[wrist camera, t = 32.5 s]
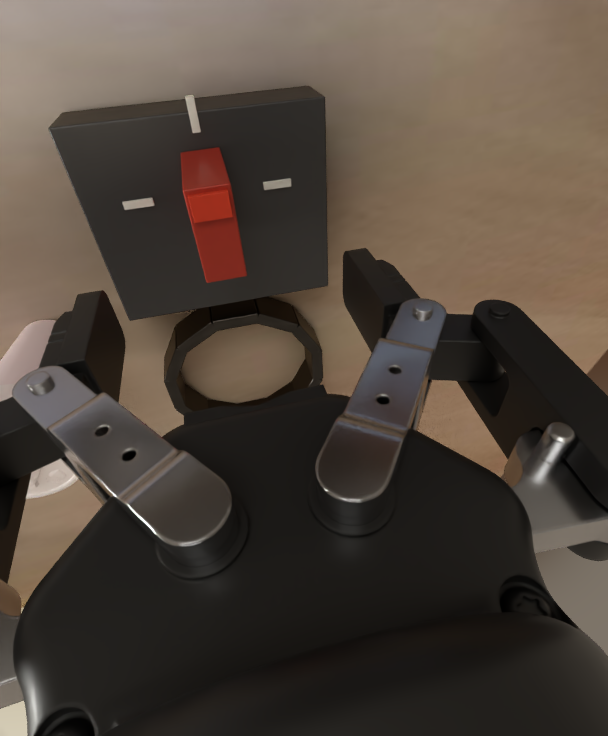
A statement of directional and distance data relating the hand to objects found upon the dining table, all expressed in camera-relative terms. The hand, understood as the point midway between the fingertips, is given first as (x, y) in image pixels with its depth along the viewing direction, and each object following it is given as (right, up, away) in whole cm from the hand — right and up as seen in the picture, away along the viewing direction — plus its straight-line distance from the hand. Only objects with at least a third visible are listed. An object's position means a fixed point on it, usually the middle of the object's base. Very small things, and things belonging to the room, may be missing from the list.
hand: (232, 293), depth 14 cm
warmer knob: (-2, +6, +6) cm, 9 cm away
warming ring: (-2, -2, +18) cm, 18 cm away
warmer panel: (-3, +7, +9) cm, 12 cm away
